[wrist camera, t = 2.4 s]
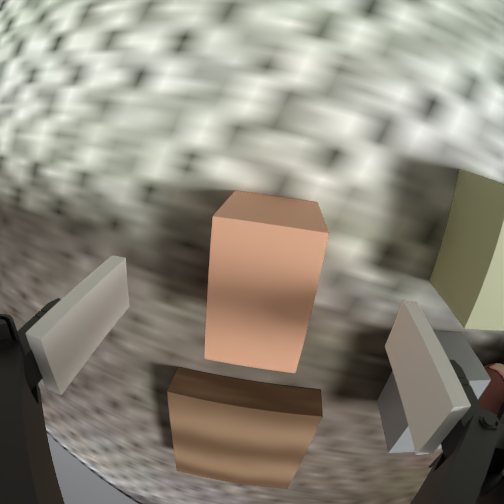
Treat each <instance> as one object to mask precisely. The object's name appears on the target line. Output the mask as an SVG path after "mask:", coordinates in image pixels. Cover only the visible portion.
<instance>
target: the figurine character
mask: <svg viewBox="0 0 504 504" xmlns="http://www.w3.org/2000/svg"><path fill="white" fill-rule="evenodd" d="M484 368H485V370H486V372H487V373H488V375H489V377H490V378H491V381H490V382H489V384H488V385H487V387H486V388H485V390H484V391H483V393H482V394H481V396H480V397H479V399H478V401H479V403H480V405H481V407H482V409H486V410H489V411H491V412H493V413H494V414H495V415H497V417H498V419H499V421H500V423H502V424H504V365H503V364H500V363H492V364H488V365H486V366H484Z"/></svg>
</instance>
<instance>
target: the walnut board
mask: <svg viewBox="0 0 504 504" xmlns="http://www.w3.org/2000/svg"><path fill="white" fill-rule="evenodd" d="M167 396H168V406H169V415H170V424H171V432H172V440H173V447H174V455H175V461H176V468H177V471H180V472H184V473H188V474H193V475H197V476H202V477H206V478H211V479H216V480H222V481H227V482H233V483H240V484H247V485H254V486H262V487H271V488H281V489H288V487H289V485H290V483H291V481H292V479H293V477H294V475H295V473H296V471H297V469H298V468H299V466H300V464H301V462H302V460H303V458H304V456H305V453H306V451H307V449H308V447H309V445H310V443H311V441H312V439H313V437H314V435H315V432H316V430H317V428H318V426H319V424H320V421H321V419H322V417H323V415H322V398H321V390H319V389H309V388H300V387H291V386H283V385H275V384H268V383H261V382H255V381H248V380H242V379H236V378H230V377H225V376H219V375H214V374H209V373H204V372H199V371H194V370H190V369H185V368H181V367H178V368H177V370H176V373H175V375H174V377H173V379H172V382H171V384H170V386H169V388H168V391H167Z"/></svg>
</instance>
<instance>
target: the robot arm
mask: <svg viewBox="0 0 504 504" xmlns="http://www.w3.org/2000/svg"><path fill="white" fill-rule="evenodd" d="M128 308H129V296H128V284H127V271H126V258H124V257H119V256H113V255H112V256H111V257H110V258H108V259H107V260H106V261H105V262H104V263H102V264H101V265H100V266H99V267H98V268H96V269H95V270H94V271H93V272H92V273H91V274H89V275H88V276H87V277H86V278H85V279H84V280H83V281H81V282H80V283H79V284H78V285H77V286H76V287H75V288H73V289H72V290H71V291H70V292H69V293H68V294H67V295H66V296H64V297H63V298H62V299H59V298H58V299H56V300H54V301H52V302H50V303H48V304H47V305H46V306H44V307H43V308H42V309H41V311H39V312H38V313H37V314H36V315H35V317H34V316H33V317H32V318H31V319H30V320H29V321H28V322H27V323H26V324H25V325H24V326H23V327H22V328H21V329H20V330H19V331H17V330H16V327H15V324H14V321H13V318H12V317H11V316H10V315H6V314H0V504H64V501H63V497H62V494H61V491H60V487H59V484H58V480H57V477H56V473H55V469H54V465H53V462H52V457H51V452H50V448H49V443H48V438H47V433H46V427H45V421H44V415H43V409H42V402H41V394H40V389H39V386H38V383H39V382H40V380H41V379H43V381H44V383H45V386H46V388H47V389H49V390H51V391H53V392H55V393H57V394H60V395H62V394H63V393H64V391H65V390H66V388H67V387H68V386H69V384H70V383H71V382H72V380H73V379H74V377H75V376H76V375H77V373H78V372H79V371H80V369H81V368H82V367H83V365H84V364H85V363H86V361H87V360H88V359H89V357H90V356H91V355H92V353H93V352H94V351H95V350H96V348H97V347H98V346H99V344H100V343H101V342H102V340H103V339H104V338H105V337H106V335H107V334H108V333H109V331H110V330H111V329H112V328H113V326H114V325H115V324H116V323H117V321H118V320H119V319H120V318H121V316H122V315H123V314H124V313H125V311H126V310H127V309H128ZM385 349H386V352H387V355H388V358H389V361H390V364H391V367H392V370H393V374H394V377H395V380H396V383H397V387H398V390H399V393H400V397H401V400H402V404H403V407H404V411H405V414H406V418H407V422H408V425H409V429H410V433H411V437H412V441H413V445H414V449H415V453H416V455H419V454H429V453H433V452H434V451H435V450H436V449H437V448H438V446H439V445H440V444H441V446H442V450H443V452H442V453H441V454H440V455H439V456H438V457H437V458H436V459H435V461H434V462H433V463H432V464H431V465H430V466H429V467H430V468H431V467H432V466H433V465H434V466H433V467H432V469H431V471H430V473H429V474H428V476H427V478H426V480H425V481H424V483H423V485H422V486H421V488H420V489H419V491H418V493H417V494H416V496H415V497H414V499H413V500H412V502H411V503H410V504H504V424H502V423H500V421H499V419H498V417H497V416H496V415H495V414H494V413H493V412H491V411H489V410H486V409H482V407H481V405H480V403H479V401H478V399H477V397H476V395H475V393H474V391H473V389H472V387H471V385H470V383H469V381H468V379H467V378H466V375H465V373H464V371H463V369H462V367H461V366H460V365H459V364H458V363H457V362H456V361H455V360H449V359H448V357H447V355H446V353H445V351H444V350H443V348H442V346H441V344H440V342H439V340H438V338H437V337H436V335H435V333H434V331H433V329H432V327H431V326H430V324H429V322H428V320H427V319H426V317H425V315H424V313H423V312H422V310H421V308H420V307H419V305H418V303H417V302H414V301H406V300H403V301H402V304H401V307H400V309H399V312H398V315H397V317H396V320H395V322H394V325H393V327H392V330H391V332H390V335H389V337H388V340H387V342H386V344H385Z"/></svg>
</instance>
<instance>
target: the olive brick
mask: <svg viewBox="0 0 504 504" xmlns="http://www.w3.org/2000/svg"><path fill="white" fill-rule="evenodd" d="M430 283H431V284H432V285H433V287H434V288H435V289H436V290H437V292H438V293H439V294H440V296H441V297H442V298H443V300H444V301H445V302H446V304H447V305H448V306H449V308H450V309H451V310H452V312H453V313H454V315H455V316H456V317H457V319H458V320H459V322H460V323H461V324H462V326H463V327H464V328H466V329H482V330H502V331H504V184H502V183H499V182H496V181H494V180H491V179H488V178H485V177H482V176H479V175H476V174H473V173H470V172H467V171H464V170H461V169H459V172H458V178H457V183H456V187H455V192H454V196H453V201H452V205H451V209H450V213H449V217H448V221H447V225H446V229H445V232H444V236H443V240H442V243H441V246H440V250H439V253H438V256H437V260H436V263H435V266H434V269H433V272H432V275H431V278H430Z"/></svg>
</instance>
